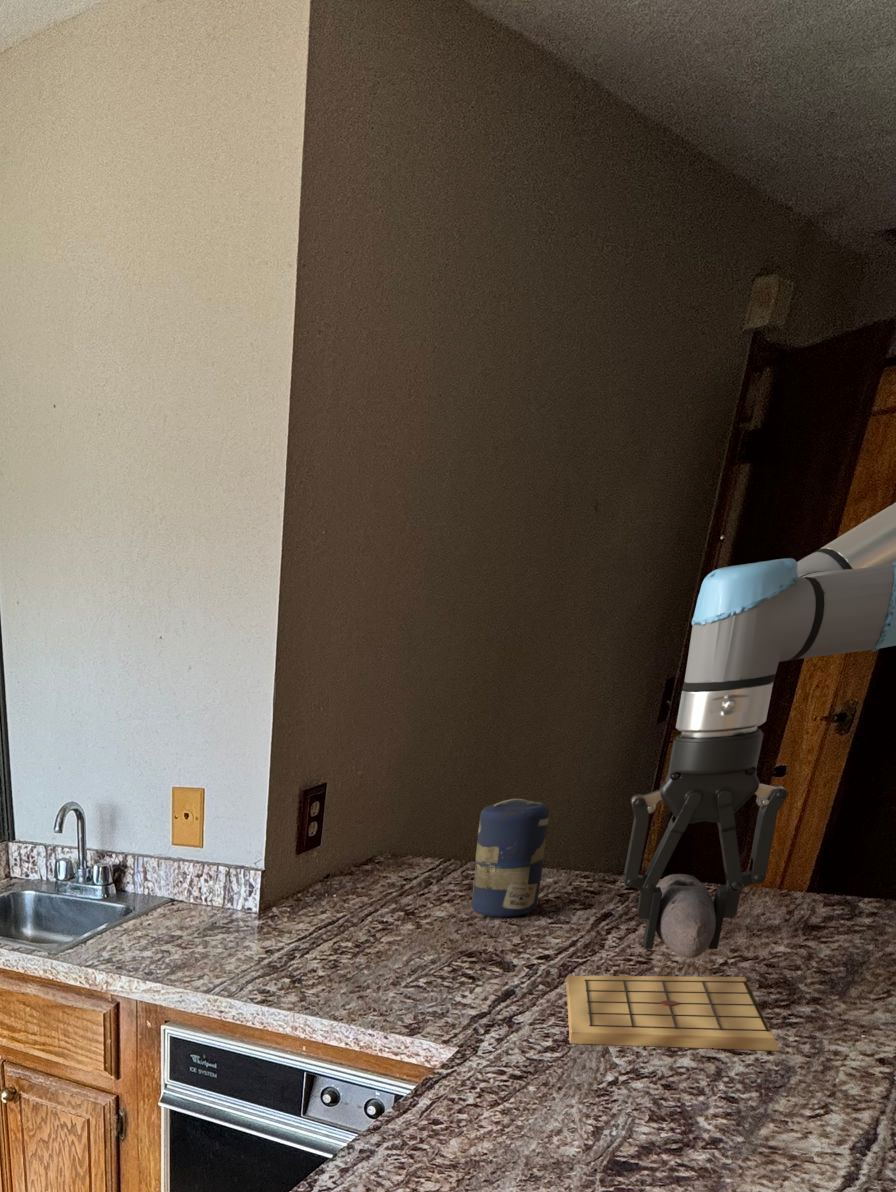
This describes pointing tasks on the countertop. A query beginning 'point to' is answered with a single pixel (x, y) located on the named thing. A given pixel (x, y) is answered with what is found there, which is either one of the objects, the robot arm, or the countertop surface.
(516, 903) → the canister
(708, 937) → the perforated stone tool
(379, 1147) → the countertop surface
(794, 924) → the countertop surface
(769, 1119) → the countertop surface
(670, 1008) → the board
